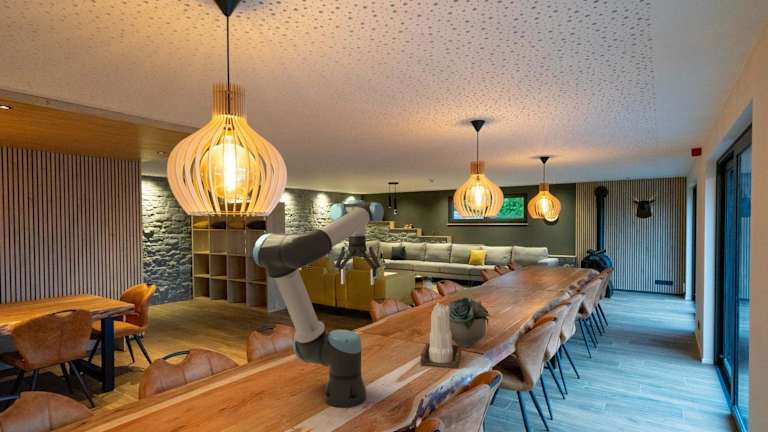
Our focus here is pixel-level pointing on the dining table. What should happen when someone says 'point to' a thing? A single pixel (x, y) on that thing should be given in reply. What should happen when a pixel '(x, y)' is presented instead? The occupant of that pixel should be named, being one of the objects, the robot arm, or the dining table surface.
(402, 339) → the dining table surface
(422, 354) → the brown wooden tray
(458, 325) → the flower arrangement
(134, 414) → the dining table surface
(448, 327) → the decorative vase
